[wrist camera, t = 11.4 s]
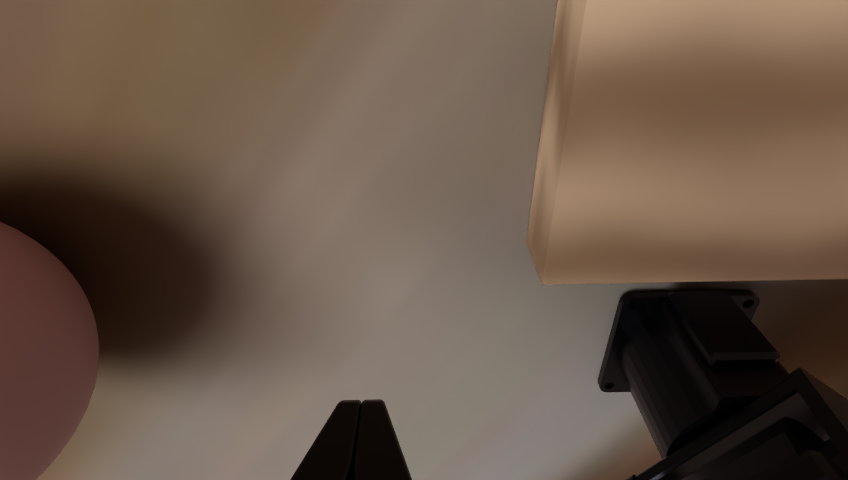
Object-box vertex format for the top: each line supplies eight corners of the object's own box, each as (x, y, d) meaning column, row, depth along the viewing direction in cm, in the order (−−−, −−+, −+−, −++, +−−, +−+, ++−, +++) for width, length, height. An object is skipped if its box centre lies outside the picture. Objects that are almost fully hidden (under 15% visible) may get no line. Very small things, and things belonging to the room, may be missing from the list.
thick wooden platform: (881, 236, 22) (942, 277, 20) (526, 242, 22) (541, 284, 19) (1116, -164, 15) (1264, -182, 12) (578, -163, 14) (615, -182, 12)
